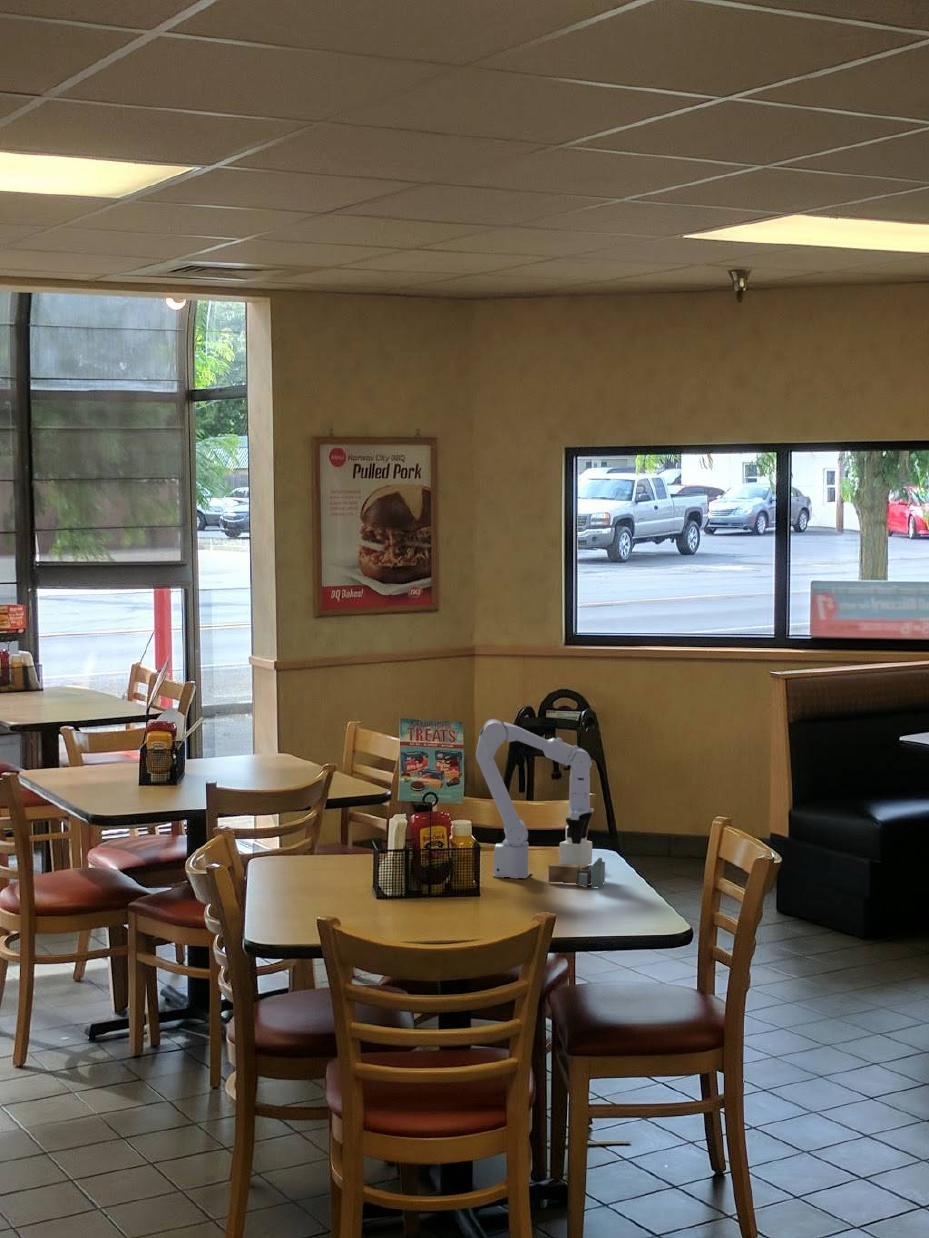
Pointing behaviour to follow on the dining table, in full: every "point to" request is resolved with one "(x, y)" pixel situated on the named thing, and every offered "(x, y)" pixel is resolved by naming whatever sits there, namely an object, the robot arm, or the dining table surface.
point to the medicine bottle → (575, 851)
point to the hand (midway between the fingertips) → (578, 840)
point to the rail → (567, 873)
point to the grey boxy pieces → (594, 875)
